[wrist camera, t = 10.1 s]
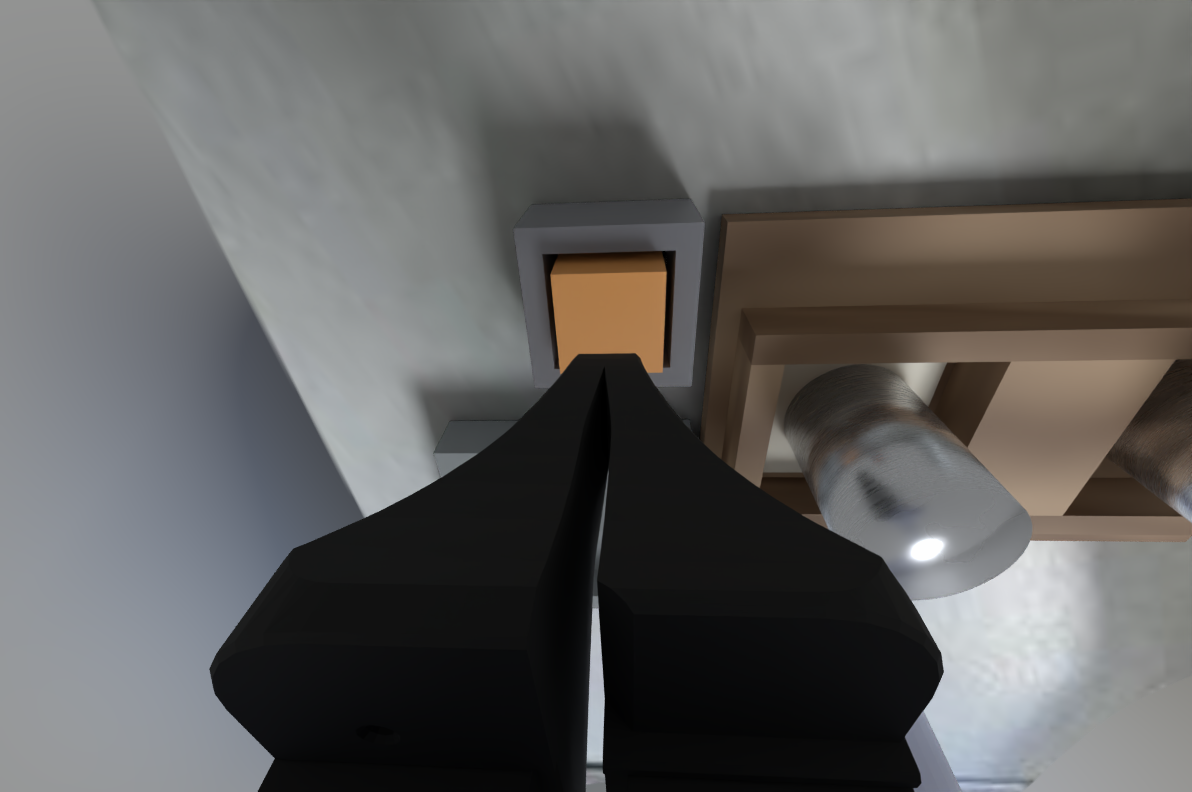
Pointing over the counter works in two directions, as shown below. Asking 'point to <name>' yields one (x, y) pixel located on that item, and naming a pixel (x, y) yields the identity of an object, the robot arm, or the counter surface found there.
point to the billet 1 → (902, 482)
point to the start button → (610, 305)
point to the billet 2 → (1162, 440)
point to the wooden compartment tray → (963, 341)
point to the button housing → (612, 231)
